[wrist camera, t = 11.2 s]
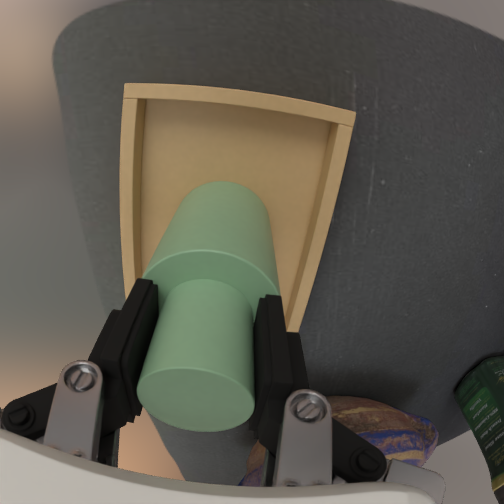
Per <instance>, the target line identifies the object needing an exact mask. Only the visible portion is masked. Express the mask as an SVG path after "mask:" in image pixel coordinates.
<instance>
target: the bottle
mask: <svg viewBox="0 0 504 504" xmlns="http://www.w3.org/2000/svg"><path fill="white" fill-rule="evenodd" d="M142 278H143V279H149V280H153V284H157V285H158V305H159V318H158V321H157V324H156V327H155V330H154V333H153V336H152V339H151V342H150V345H149V349H148V352H147V355H146V358H145V362H144V365H143V368H142V372H141V375H140V378H139V382H138V385H137V396H138V399H139V401H140V403H141V404H142V406H143V407H144V408H145V409H146V410H147V411H148V412H149V413H150V414H151V415H153V416H154V417H156V418H157V419H159V420H161V421H163V422H165V423H167V424H169V425H172V426H175V427H178V428H182V429H186V430H191V431H200V432H215V431H222V430H227V429H231V428H234V427H236V426H239V425H241V424H242V423H244V422H245V421H247V420H248V419H249V418H250V416H251V415H252V413H253V411H254V408H255V384H254V337H253V327H254V322H255V317H256V312H257V307H258V302H259V298H260V297H261V298H265V295H266V294H270V295H279V296H281V293H280V286H279V279H278V272H277V265H276V259H275V252H274V245H273V239H272V232H271V226H270V219H269V215H268V212H267V209H266V207H265V205H264V204H263V202H262V201H261V199H260V198H259V197H258V196H257V195H256V194H255V193H254V192H252V191H251V190H249V189H248V188H246V187H244V186H242V185H240V184H237V183H233V182H228V181H214V182H209V183H206V184H203V185H201V186H199V187H197V188H195V189H194V190H192V191H191V192H190V193H189V194H187V195H186V197H185V198H184V199H183V200H182V202H181V204H180V205H179V207H178V209H177V211H176V212H175V214H174V216H173V218H172V220H171V222H170V223H169V225H168V227H167V229H166V231H165V233H164V235H163V237H162V239H161V240H160V242H159V244H158V246H157V248H156V250H155V252H154V254H153V256H152V258H151V260H150V262H149V264H148V266H147V268H146V270H145V272H144V274H143V276H142Z"/></svg>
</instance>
